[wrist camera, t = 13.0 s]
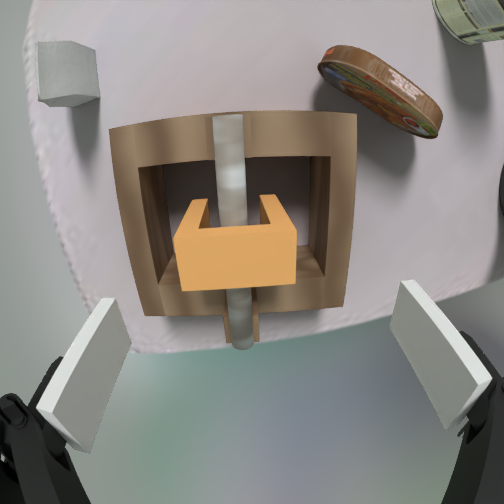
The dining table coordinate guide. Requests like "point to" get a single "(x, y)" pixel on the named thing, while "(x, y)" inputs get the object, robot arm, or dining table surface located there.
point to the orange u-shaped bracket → (236, 249)
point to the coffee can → (472, 19)
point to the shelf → (260, 143)
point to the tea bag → (65, 73)
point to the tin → (381, 90)
